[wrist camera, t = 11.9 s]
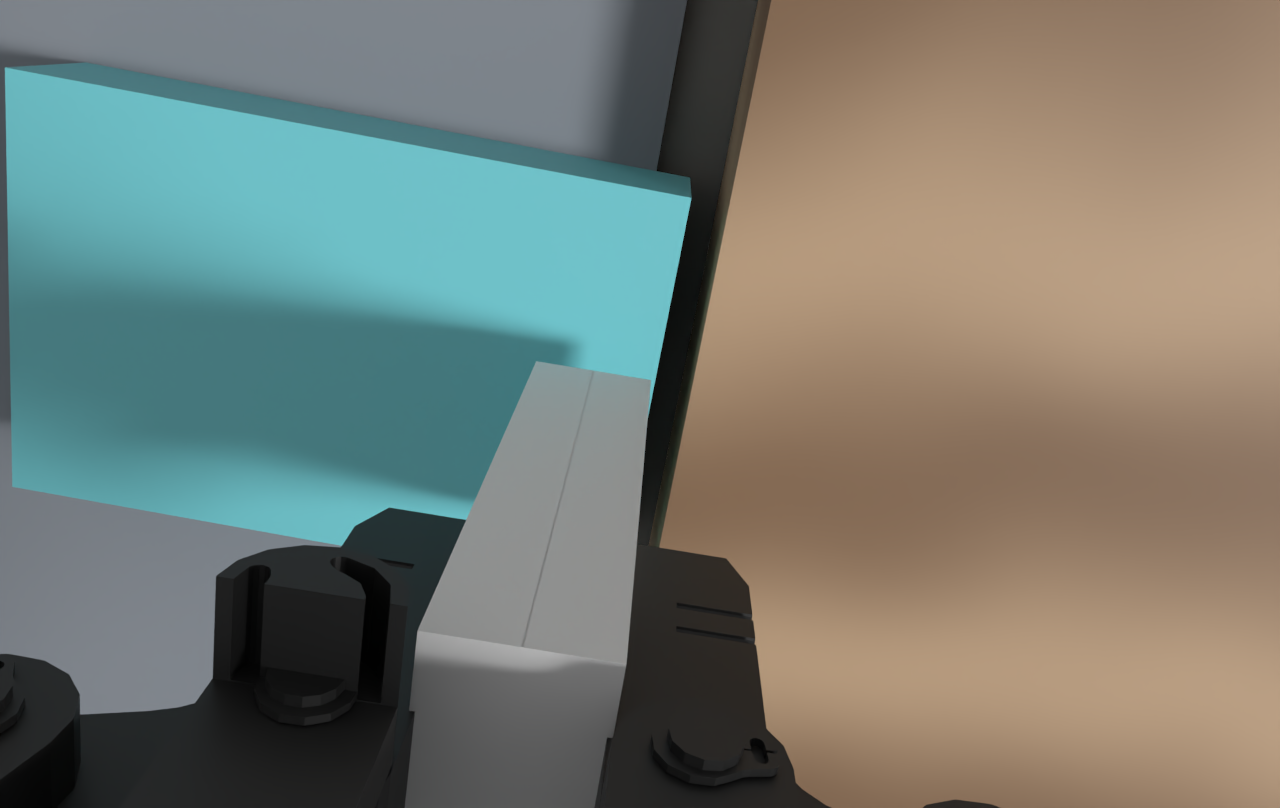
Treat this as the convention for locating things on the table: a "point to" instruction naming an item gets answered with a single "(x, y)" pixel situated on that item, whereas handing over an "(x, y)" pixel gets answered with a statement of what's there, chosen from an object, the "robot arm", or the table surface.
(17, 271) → the turquoise flat block
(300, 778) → the robot arm
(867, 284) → the wooden board
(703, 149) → the table surface
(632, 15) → the mat
